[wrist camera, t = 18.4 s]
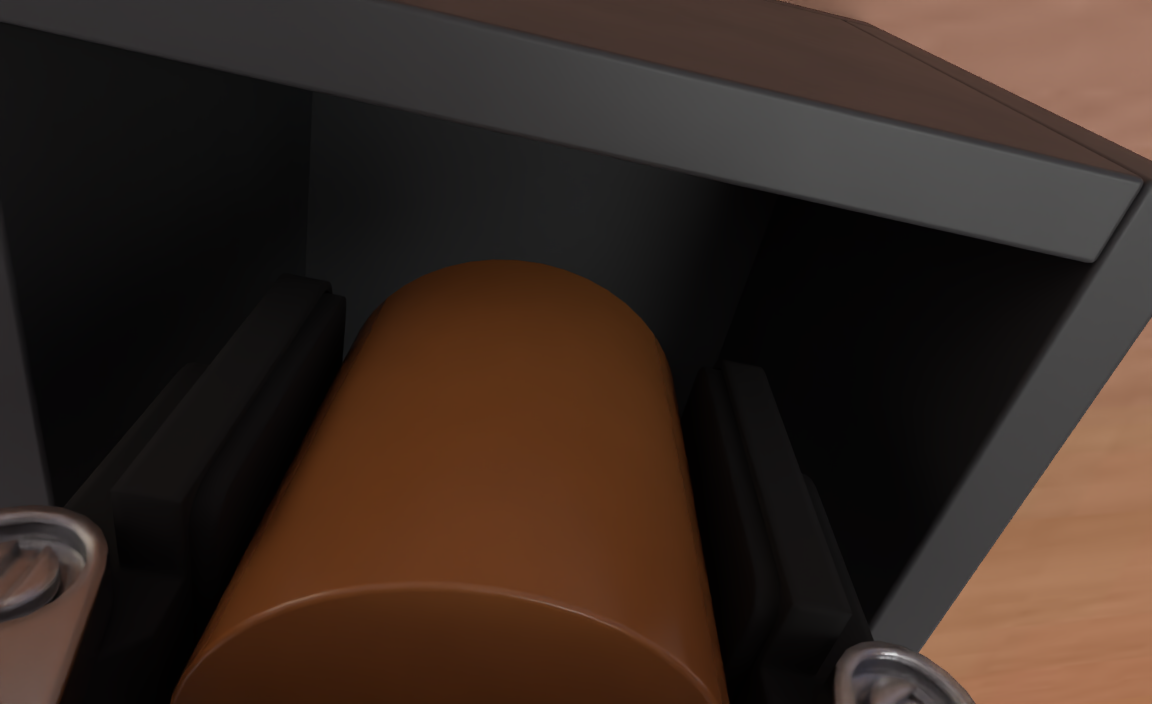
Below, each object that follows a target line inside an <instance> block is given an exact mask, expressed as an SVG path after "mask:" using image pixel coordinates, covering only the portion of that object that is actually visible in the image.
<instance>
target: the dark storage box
mask: <svg viewBox="0 0 1152 704" xmlns="http://www.w3.org/2000/svg"><path fill="white" fill-rule="evenodd" d="M493 259H497V260H521V261H528V262H535V263H542V264H546V265H549V266H553V267H557V268H560V269H564V270H567V271H569V272H572V273H574V274H577V275H579V276H582V277H584V278H587V279H588V280H590V281H592V282H594V283H596V284H597V285H599V286H601V287H603V288H605V289H606V290H608V291H609V292H611V293H612V294H614V295H615V296H616V297H618V298H619V299H620V300H622V301H623V302H624V303H626V304H627V305H628V306H629V307H630V308H631V309H632V310H633V311H634V312H635V313H636V314H637V315H638V316H639V317H640V318H641V319H642V320H643V321H644V322H645V324H646V325H647V326H648V328H649V329H650V330H651V331H652V333H653V334H654V335H655V337H656V339H657V340H658V342H659V344H660V346H661V347H662V349H663V351H664V353H665V355H666V358H667V361H668V363H669V366H670V368H671V371H672V376H673V381H674V385H675V390H676V396H677V402H678V407H679V413H680V419H681V417H682V414H683V411H684V409H685V406H686V403H687V400H688V397H689V395H690V392H691V389H692V386H693V384H694V381H695V378H696V376H697V373H698V371H699V370H700V368H702V367H707V368H713V366H714V365H715V363H716V362H717V361H718V360H719V359H722V360H727V361H732V362H738V363H743V364H748V365H753V366H758V367H761V368H763V370H764V372H765V374H766V377H767V380H768V382H769V385H770V388H771V391H772V393H773V396H774V399H775V402H776V405H777V407H778V410H779V413H780V416H781V418H782V421H783V424H784V427H785V429H786V432H787V435H788V438H789V440H790V443H791V446H792V449H793V451H794V454H795V457H796V460H797V462H798V465H799V468H800V471H801V473H802V474H805V475H807V476H808V477H810V478H811V479H812V481H813V483H814V485H815V486H816V489H817V491H818V494H819V497H820V499H821V502H822V505H823V507H824V510H825V512H826V515H827V518H828V520H829V523H830V526H831V528H832V531H833V534H834V536H835V539H836V542H837V544H838V547H839V549H840V552H841V555H842V557H843V560H844V563H845V565H846V568H847V571H848V573H849V576H850V578H851V581H852V584H853V586H854V589H855V592H856V594H857V597H858V600H859V602H860V605H861V608H862V610H863V613H864V615H865V618H866V621H867V623H868V626H869V629H870V631H871V634H872V637H873V639H874V641H883V642H888V643H892V644H896V645H901V646H904V647H906V648H908V649H910V650H912V651H915V652H917V653H919V651H920V650H921V648H922V647H923V646H924V644H925V643H926V641H927V640H928V638H929V637H930V635H931V634H932V633H933V631H934V630H935V628H936V627H937V625H938V624H939V622H940V621H941V620H942V618H943V617H944V615H945V614H946V612H947V611H948V610H949V608H950V607H951V605H952V604H953V602H954V601H955V599H956V598H957V597H958V595H959V594H960V592H961V591H962V589H963V588H964V586H965V585H966V584H967V582H968V581H969V579H970V578H971V576H972V575H973V574H974V572H975V571H976V569H977V568H978V566H979V565H980V563H981V562H982V561H983V559H984V558H985V556H986V555H987V553H988V552H989V550H990V549H991V548H992V546H993V545H994V543H995V542H996V540H997V539H998V538H999V536H1000V535H1001V533H1002V532H1003V530H1004V529H1005V527H1006V526H1007V525H1008V523H1009V522H1010V520H1011V519H1012V517H1013V516H1014V514H1015V513H1016V512H1017V510H1018V509H1019V507H1020V506H1021V504H1022V503H1023V502H1024V500H1025V499H1026V497H1027V496H1028V494H1029V493H1030V491H1031V490H1032V489H1033V487H1034V486H1035V484H1036V483H1037V481H1038V480H1039V478H1040V477H1041V476H1042V474H1043V473H1044V471H1045V470H1046V468H1047V467H1048V466H1049V464H1050V463H1051V461H1052V460H1053V458H1054V457H1055V455H1056V454H1057V453H1058V451H1059V450H1060V448H1061V447H1062V445H1063V444H1064V442H1065V441H1066V440H1067V438H1068V437H1069V435H1070V434H1071V432H1072V431H1073V430H1074V428H1075V427H1076V425H1077V424H1078V422H1079V421H1080V419H1081V418H1082V417H1083V415H1084V414H1085V412H1086V411H1087V409H1088V408H1089V406H1090V405H1091V404H1092V402H1093V401H1094V399H1095V398H1096V396H1097V395H1098V394H1099V392H1100V391H1101V389H1102V388H1103V386H1104V385H1105V383H1106V382H1107V381H1108V379H1109V378H1110V376H1111V375H1112V373H1113V372H1114V370H1115V369H1116V368H1117V366H1118V365H1119V363H1120V362H1121V360H1122V359H1123V358H1124V356H1125V355H1126V353H1127V352H1128V350H1129V349H1130V347H1131V346H1132V345H1133V343H1134V342H1135V340H1136V339H1137V337H1138V336H1139V334H1140V333H1141V332H1142V330H1143V329H1144V327H1145V326H1146V324H1147V323H1148V322H1149V320H1150V319H1151V317H1152V161H1151V160H1149V159H1147V158H1145V157H1143V156H1141V155H1139V154H1136V153H1134V152H1132V151H1130V150H1128V149H1126V148H1124V147H1122V146H1120V145H1118V144H1116V143H1114V142H1112V141H1110V140H1108V139H1106V138H1104V137H1102V136H1099V135H1097V134H1095V133H1093V132H1091V131H1089V130H1087V129H1085V128H1083V127H1081V126H1079V125H1077V124H1075V123H1073V122H1071V121H1069V120H1067V119H1065V118H1062V117H1060V116H1058V115H1056V114H1054V113H1052V112H1050V111H1048V110H1046V109H1044V108H1042V107H1040V106H1038V105H1036V104H1034V103H1032V102H1030V101H1027V100H1025V99H1023V98H1021V97H1019V96H1017V95H1015V94H1013V93H1011V92H1009V91H1007V90H1005V89H1003V88H1001V87H999V86H997V85H995V84H993V83H990V82H988V81H986V80H984V79H982V78H980V77H978V76H976V75H974V74H972V73H970V72H968V71H966V70H964V69H962V68H960V67H958V66H956V65H953V64H951V63H949V62H947V61H945V60H943V59H941V58H939V57H937V56H935V55H933V54H931V53H929V52H927V51H925V50H923V49H921V48H918V47H916V46H914V45H912V44H910V43H908V42H906V41H904V40H902V39H900V38H898V37H896V36H894V35H892V34H890V33H888V32H886V31H884V30H881V29H879V28H877V27H875V26H873V25H871V24H869V23H866V22H862V21H858V20H854V19H850V18H846V17H842V16H838V15H834V14H830V13H826V12H822V11H818V10H814V9H810V8H806V7H802V6H798V5H794V4H790V3H786V2H782V1H778V0H0V509H1V508H4V507H14V506H26V505H44V506H54V507H64V506H65V505H66V504H67V502H68V501H69V500H70V499H71V498H72V497H73V495H74V494H75V493H76V492H77V491H78V489H79V488H80V487H81V486H82V485H83V484H84V482H85V481H86V480H87V479H88V478H89V476H90V475H91V474H92V473H93V472H94V471H95V469H96V468H97V467H98V466H99V465H100V463H101V462H102V461H103V460H104V459H105V458H106V456H107V455H108V454H109V453H110V452H111V450H112V449H113V448H114V447H115V446H116V445H117V443H118V442H119V441H120V440H121V439H122V437H123V436H124V435H125V434H126V433H127V432H128V430H129V429H130V428H131V427H132V426H133V424H134V423H135V422H136V421H137V420H138V418H139V417H140V416H141V415H142V414H143V413H144V411H145V410H146V409H147V408H148V407H149V405H150V404H151V403H152V402H153V401H154V400H155V398H156V397H157V396H158V395H159V394H160V392H161V391H162V390H163V389H164V388H165V387H166V385H167V384H168V383H169V382H170V381H171V379H172V378H173V377H174V376H175V375H176V374H177V372H178V371H179V370H180V369H181V368H182V367H184V366H185V365H186V364H187V363H191V362H198V363H203V364H209V365H210V364H211V362H212V361H213V360H214V359H215V357H216V356H217V355H218V354H219V352H220V351H221V350H222V349H223V347H224V346H225V345H226V343H227V342H228V341H229V340H230V338H231V337H232V336H233V335H234V333H235V332H236V331H237V330H238V328H239V327H240V326H241V325H242V323H243V322H244V321H245V319H246V318H247V317H248V316H249V314H250V313H251V312H252V311H253V309H254V308H255V307H256V306H257V304H258V303H259V302H260V301H261V299H262V298H263V297H264V295H265V294H266V293H267V292H268V290H269V289H270V288H271V287H272V285H273V284H274V283H275V282H276V280H277V279H278V278H279V277H280V276H281V275H282V274H283V273H288V274H293V275H298V276H303V277H308V278H313V279H318V280H323V281H328V282H330V283H331V285H332V290H333V294H335V295H340V296H345V298H346V320H345V334H344V348H343V361H344V359H345V357H346V355H347V353H348V351H349V349H350V347H351V345H352V343H353V341H354V340H355V338H356V336H357V334H358V332H359V330H360V328H361V327H362V325H363V324H364V323H365V321H366V320H367V319H368V317H369V316H370V315H371V313H372V312H373V311H374V310H375V309H376V308H377V307H378V306H379V305H380V304H381V303H382V302H383V301H384V300H385V299H387V298H388V297H389V296H390V295H392V294H393V293H395V292H396V291H397V290H399V289H400V288H402V287H403V286H404V285H406V284H408V283H410V282H412V281H414V280H416V279H418V278H419V277H421V276H423V275H426V274H428V273H431V272H434V271H436V270H439V269H442V268H445V267H448V266H453V265H457V264H462V263H466V262H472V261H482V260H493ZM342 363H343V362H342Z"/></svg>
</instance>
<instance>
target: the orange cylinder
mask: <svg viewBox="0 0 1152 704" xmlns="http://www.w3.org/2000/svg"><path fill="white" fill-rule="evenodd" d="M169 704H730V702H729V697H728V691H727V685H726V679H725V673H724V668H723V662H722V656H721V650H720V645H719V639H718V633H717V627H716V621H715V616H714V610H713V604H712V598H711V592H710V587H709V581H708V575H707V569H706V564H705V558H704V552H703V546H702V540H701V535H700V529H699V523H698V517H697V512H696V506H695V500H694V494H693V488H692V483H691V477H690V471H689V465H688V459H687V454H686V448H685V442H684V436H683V431H682V425H681V419H680V413H679V407H678V402H677V396H676V390H675V385H674V381H673V376H672V371H671V368H670V366H669V363H668V361H667V358H666V355H665V353H664V351H663V349H662V347H661V346H660V344H659V342H658V340H657V339H656V337H655V335H654V334H653V333H652V331H651V330H650V329H649V328H648V326H647V325H646V324H645V322H644V321H643V320H642V319H641V318H640V317H639V316H638V315H637V314H636V313H635V312H634V311H633V310H632V309H631V308H630V307H629V306H628V305H627V304H626V303H624V302H623V301H622V300H620V299H619V298H618V297H616V296H615V295H614V294H612V293H611V292H609V291H608V290H606V289H605V288H603V287H601V286H599V285H597V284H596V283H594V282H592V281H590V280H588V279H587V278H584V277H582V276H579V275H577V274H574V273H572V272H569V271H567V270H564V269H560V268H557V267H553V266H549V265H546V264H542V263H535V262H528V261H521V260H497V259H493V260H482V261H472V262H466V263H462V264H457V265H453V266H448V267H445V268H442V269H439V270H436V271H434V272H431V273H428V274H426V275H423V276H421V277H419V278H418V279H416V280H414V281H412V282H410V283H408V284H406V285H404V286H403V287H402V288H400V289H399V290H397V291H396V292H395V293H393V294H392V295H390V296H389V297H388V298H387V299H385V300H384V301H383V302H382V303H381V304H380V305H379V306H378V307H377V308H376V309H375V310H374V311H373V312H372V313H371V315H370V316H369V317H368V319H367V320H366V321H365V323H364V324H363V325H362V327H361V328H360V330H359V332H358V334H357V336H356V338H355V340H354V341H353V343H352V345H351V347H350V349H349V351H348V353H347V355H346V357H345V359H344V361H343V363H342V365H341V367H340V369H339V370H338V372H337V374H336V376H335V378H334V380H333V382H332V384H331V386H330V388H329V390H328V392H327V394H326V396H325V398H324V400H323V401H322V403H321V405H320V407H319V409H318V411H317V413H316V415H315V417H314V419H313V421H312V423H311V425H310V427H309V429H308V431H307V432H306V434H305V436H304V438H303V440H302V442H301V444H300V446H299V448H298V450H297V452H296V454H295V456H294V458H293V460H292V462H291V463H290V465H289V467H288V469H287V471H286V473H285V475H284V477H283V479H282V481H281V483H280V485H279V487H278V489H277V491H276V493H275V495H274V496H273V498H272V500H271V502H270V504H269V506H268V508H267V510H266V512H265V514H264V516H263V518H262V520H261V522H260V524H259V526H258V527H257V529H256V531H255V533H254V535H253V537H252V539H251V541H250V543H249V545H248V547H247V549H246V551H245V553H244V555H243V557H242V558H241V560H240V562H239V564H238V566H237V568H236V570H235V572H234V574H233V576H232V578H231V580H230V582H229V584H228V586H227V588H226V589H225V591H224V593H223V595H222V597H221V599H220V601H219V603H218V605H217V607H216V609H215V611H214V613H213V615H212V617H211V619H210V621H209V622H208V624H207V626H206V628H205V630H204V632H203V634H202V636H201V638H200V640H199V642H198V644H197V646H196V648H195V650H194V652H193V653H192V655H191V657H190V659H189V661H188V663H187V665H186V667H185V669H184V671H183V673H182V675H181V677H180V679H179V681H178V683H177V684H176V686H175V688H174V690H173V692H172V696H171V700H170V703H169Z"/></svg>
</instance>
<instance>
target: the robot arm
mask: <svg viewBox="0 0 1152 704" xmlns="http://www.w3.org/2000/svg"><path fill="white" fill-rule="evenodd" d="M345 320H346V298H345V296H340V295H335V294H333V290H332V285H331V283H330V282H328V281H323V280H318V279H313V278H308V277H303V276H298V275H293V274H288V273H283V274H282V275H281V276H280V277H279V278H278V279H277V280H276V282H275V283H274V284H273V285H272V287H271V288H270V289H269V290H268V292H267V293H266V294H265V295H264V297H263V298H262V299H261V301H260V302H259V303H258V304H257V306H256V307H255V308H254V309H253V311H252V312H251V313H250V314H249V316H248V317H247V318H246V319H245V321H244V322H243V323H242V325H241V326H240V327H239V328H238V330H237V331H236V332H235V333H234V335H233V336H232V337H231V338H230V340H229V341H228V342H227V343H226V345H225V346H224V347H223V349H222V350H221V351H220V352H219V354H218V355H217V356H216V357H215V359H214V360H213V361H212V362H211V364H210V365H209V364H203V363H198V362H191V363H187V364H186V365H185V366H184V367H182V368H181V369H180V370H179V371H178V372H177V374H176V375H175V376H174V377H173V378H172V379H171V381H170V382H169V383H168V384H167V385H166V387H165V388H164V389H163V390H162V391H161V392H160V394H159V395H158V396H157V397H156V398H155V400H154V401H153V402H152V403H151V404H150V405H149V407H148V408H147V409H146V410H145V411H144V413H143V414H142V415H141V416H140V417H139V418H138V420H137V421H136V422H135V423H134V424H133V426H132V427H131V428H130V429H129V430H128V432H127V433H126V434H125V435H124V436H123V437H122V439H121V440H120V441H119V442H118V443H117V445H116V446H115V447H114V448H113V449H112V450H111V452H110V453H109V454H108V455H107V456H106V458H105V459H104V460H103V461H102V462H101V463H100V465H99V466H98V467H97V468H96V469H95V471H94V472H93V473H92V474H91V475H90V476H89V478H88V479H87V480H86V481H85V482H84V484H83V485H82V486H81V487H80V488H79V489H78V491H77V492H76V493H75V494H74V495H73V497H72V498H71V499H70V500H69V501H68V502H67V504H66V505H65V506H64V507H54V506H44V505H26V506H14V507H4V508H1V509H0V704H169V703H170V700H171V696H172V692H173V690H174V688H175V686H176V684H177V683H178V681H179V679H180V677H181V675H182V673H183V671H184V669H185V667H186V665H187V663H188V661H189V659H190V657H191V655H192V653H193V652H194V650H195V648H196V646H197V644H198V642H199V640H200V638H201V636H202V634H203V632H204V630H205V628H206V626H207V624H208V622H209V621H210V619H211V617H212V615H213V613H214V611H215V609H216V607H217V605H218V603H219V601H220V599H221V597H222V595H223V593H224V591H225V589H226V588H227V586H228V584H229V582H230V580H231V578H232V576H233V574H234V572H235V570H236V568H237V566H238V564H239V562H240V560H241V558H242V557H243V555H244V553H245V551H246V549H247V547H248V545H249V543H250V541H251V539H252V537H253V535H254V533H255V531H256V529H257V527H258V526H259V524H260V522H261V520H262V518H263V516H264V514H265V512H266V510H267V508H268V506H269V504H270V502H271V500H272V498H273V496H274V495H275V493H276V491H277V489H278V487H279V485H280V483H281V481H282V479H283V477H284V475H285V473H286V471H287V469H288V467H289V465H290V463H291V462H292V460H293V458H294V456H295V454H296V452H297V450H298V448H299V446H300V444H301V442H302V440H303V438H304V436H305V434H306V432H307V431H308V429H309V427H310V425H311V423H312V421H313V419H314V417H315V415H316V413H317V411H318V409H319V407H320V405H321V403H322V401H323V400H324V398H325V396H326V394H327V392H328V390H329V388H330V386H331V384H332V382H333V380H334V378H335V376H336V374H337V372H338V370H339V369H340V367H341V365H342V362H343V348H344V334H345ZM681 425H682V431H683V436H684V442H685V448H686V454H687V459H688V465H689V471H690V477H691V483H692V488H693V494H694V500H695V506H696V512H697V517H698V523H699V529H700V535H701V540H702V546H703V552H704V558H705V564H706V569H707V575H708V581H709V587H710V592H711V598H712V604H713V610H714V616H715V621H716V627H717V633H718V639H719V645H720V650H721V656H722V662H723V668H724V673H725V679H726V685H727V691H728V697H729V702H730V704H975V702H974V701H973V700H972V698H971V697H970V695H969V694H968V692H967V691H966V690H965V689H964V688H963V687H962V686H961V685H960V684H959V683H958V682H957V681H956V680H955V679H954V678H953V677H952V676H951V675H950V674H949V673H948V672H947V671H945V670H944V669H942V668H941V667H940V666H938V665H937V664H935V663H934V662H932V661H931V660H930V659H928V658H927V657H925V656H923V655H921V654H919V653H917V652H915V651H912V650H910V649H908V648H906V647H904V646H901V645H896V644H892V643H888V642H883V641H874V639H873V637H872V634H871V631H870V629H869V626H868V623H867V621H866V618H865V615H864V613H863V610H862V608H861V605H860V602H859V600H858V597H857V594H856V592H855V589H854V586H853V584H852V581H851V578H850V576H849V573H848V571H847V568H846V565H845V563H844V560H843V557H842V555H841V552H840V549H839V547H838V544H837V542H836V539H835V536H834V534H833V531H832V528H831V526H830V523H829V520H828V518H827V515H826V512H825V510H824V507H823V505H822V502H821V499H820V497H819V494H818V491H817V489H816V486H815V485H814V483H813V481H812V479H811V478H810V477H808V476H807V475H805V474H802V473H801V471H800V468H799V465H798V462H797V460H796V457H795V454H794V451H793V449H792V446H791V443H790V440H789V438H788V435H787V432H786V429H785V427H784V424H783V421H782V418H781V416H780V413H779V410H778V407H777V405H776V402H775V399H774V396H773V393H772V391H771V388H770V385H769V382H768V380H767V377H766V374H765V372H764V370H763V368H761V367H758V366H753V365H748V364H743V363H738V362H732V361H727V360H722V359H719V360H718V361H717V362H716V363H715V365H714V366H713V368H707V367H702V368H700V370H699V371H698V373H697V376H696V378H695V381H694V384H693V386H692V389H691V392H690V395H689V397H688V400H687V403H686V406H685V409H684V411H683V414H682V417H681Z"/></svg>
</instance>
